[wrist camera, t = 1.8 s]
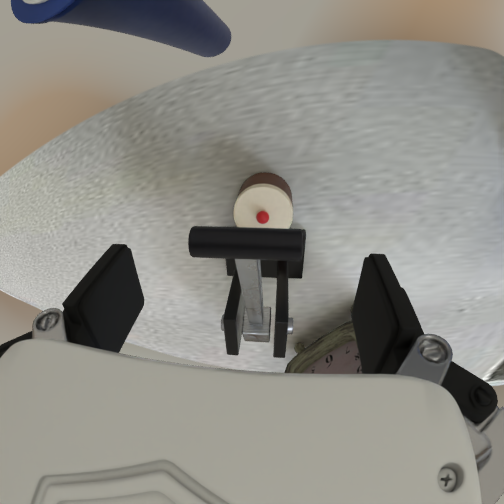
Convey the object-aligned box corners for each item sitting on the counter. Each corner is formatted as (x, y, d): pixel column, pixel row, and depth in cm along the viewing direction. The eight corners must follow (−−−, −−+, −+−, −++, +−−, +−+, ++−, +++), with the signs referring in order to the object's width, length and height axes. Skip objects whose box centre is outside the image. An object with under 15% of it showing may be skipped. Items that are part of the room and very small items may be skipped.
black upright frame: (225, 227, 33) (196, 310, 22) (305, 229, 33) (316, 316, 21) (228, 270, 37) (205, 358, 25) (301, 272, 36) (306, 363, 24)
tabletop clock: (358, 290, 37) (397, 480, 15) (392, 321, 39) (432, 480, 18) (282, 344, 43) (274, 506, 22) (320, 367, 46) (325, 510, 25)
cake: (238, 172, 30) (229, 190, 25) (292, 173, 29) (295, 191, 25) (240, 220, 33) (232, 246, 28) (290, 221, 32) (292, 248, 28)
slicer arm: (193, 211, 14) (183, 256, 12) (302, 214, 13) (303, 261, 12) (231, 314, 27) (229, 340, 25) (286, 317, 26) (285, 343, 25)
